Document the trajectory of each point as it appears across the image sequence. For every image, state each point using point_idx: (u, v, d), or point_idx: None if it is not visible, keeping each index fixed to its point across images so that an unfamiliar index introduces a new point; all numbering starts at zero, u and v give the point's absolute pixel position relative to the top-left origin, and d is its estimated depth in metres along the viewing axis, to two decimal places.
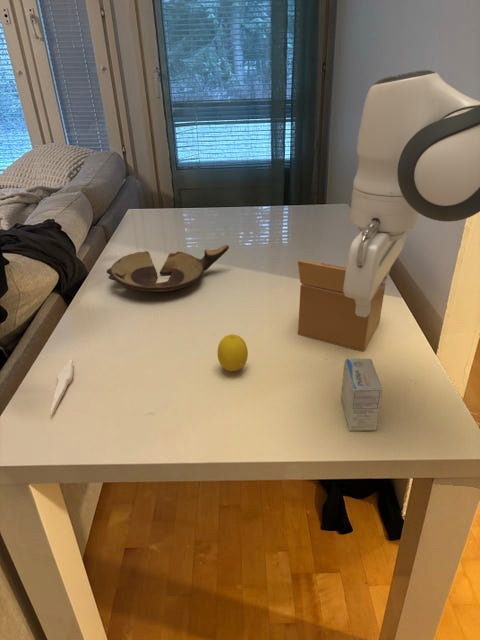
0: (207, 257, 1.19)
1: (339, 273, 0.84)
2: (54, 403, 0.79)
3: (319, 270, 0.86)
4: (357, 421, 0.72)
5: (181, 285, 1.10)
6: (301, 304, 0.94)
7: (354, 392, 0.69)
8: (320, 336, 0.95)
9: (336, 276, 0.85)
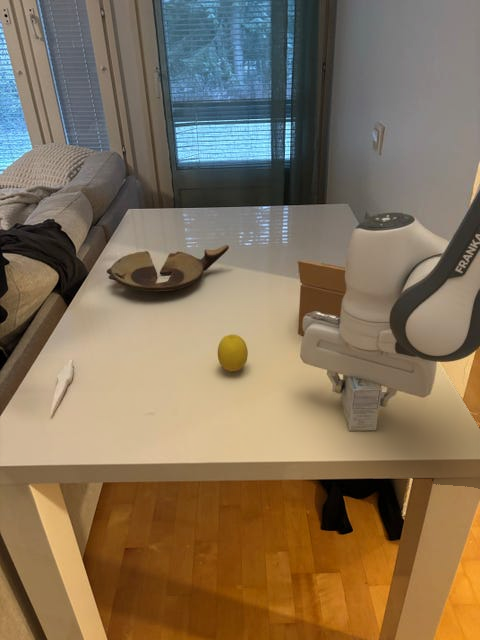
0: (207, 257, 1.19)
1: (339, 273, 0.84)
2: (54, 403, 0.79)
3: (319, 270, 0.86)
4: (357, 421, 0.72)
5: (181, 285, 1.10)
6: (301, 304, 0.94)
7: (354, 392, 0.69)
8: None
9: (336, 276, 0.85)
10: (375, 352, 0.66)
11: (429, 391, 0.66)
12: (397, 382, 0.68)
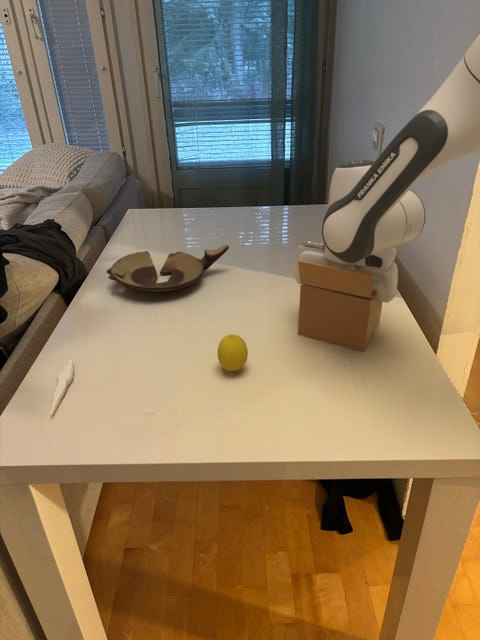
0: (207, 257, 1.19)
1: (339, 273, 0.84)
2: (55, 403, 0.79)
3: (319, 270, 0.86)
4: None
5: (181, 285, 1.10)
6: (301, 304, 0.94)
7: None
8: (320, 336, 0.95)
9: (336, 276, 0.85)
10: (351, 267, 0.88)
11: (391, 296, 0.88)
12: None
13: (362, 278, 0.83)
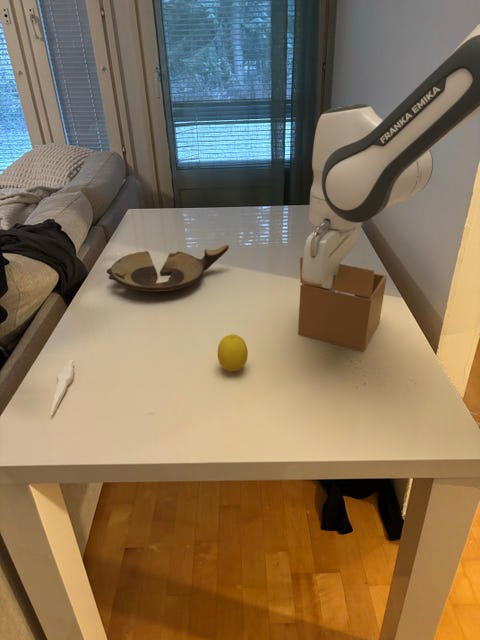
0: (207, 257, 1.19)
1: (341, 270, 0.85)
2: (55, 403, 0.79)
3: None
4: None
5: (181, 285, 1.10)
6: (301, 304, 0.94)
7: None
8: (320, 336, 0.95)
9: (337, 273, 0.86)
10: None
11: (358, 235, 0.88)
12: (351, 244, 0.84)
13: (363, 275, 0.83)
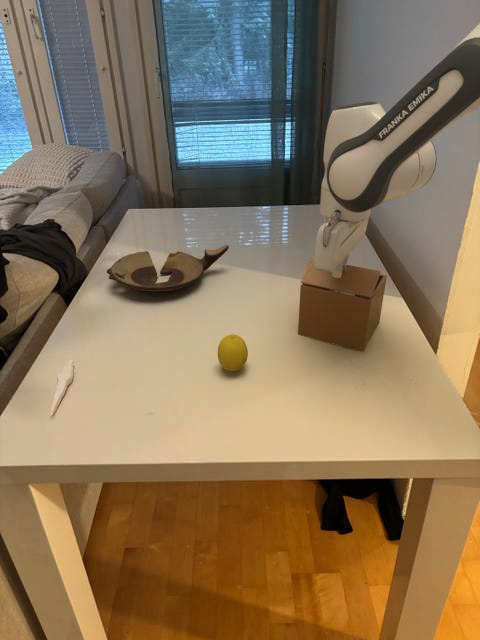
0: (207, 257, 1.19)
1: (348, 269, 0.89)
2: (55, 403, 0.79)
3: None
4: None
5: (181, 285, 1.10)
6: (301, 304, 0.94)
7: None
8: (320, 336, 0.95)
9: None
10: None
11: None
12: (359, 235, 0.88)
13: (369, 274, 0.88)
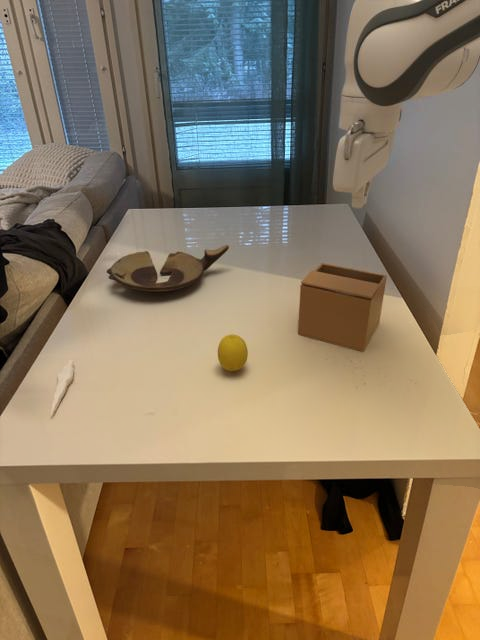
0: (207, 257, 1.19)
1: (348, 280, 0.91)
2: (55, 403, 0.79)
3: (329, 276, 0.93)
4: None
5: (181, 285, 1.10)
6: (301, 304, 0.94)
7: None
8: (320, 336, 0.95)
9: (344, 281, 0.91)
10: None
11: (389, 155, 0.81)
12: (383, 160, 0.78)
13: (369, 284, 0.90)
